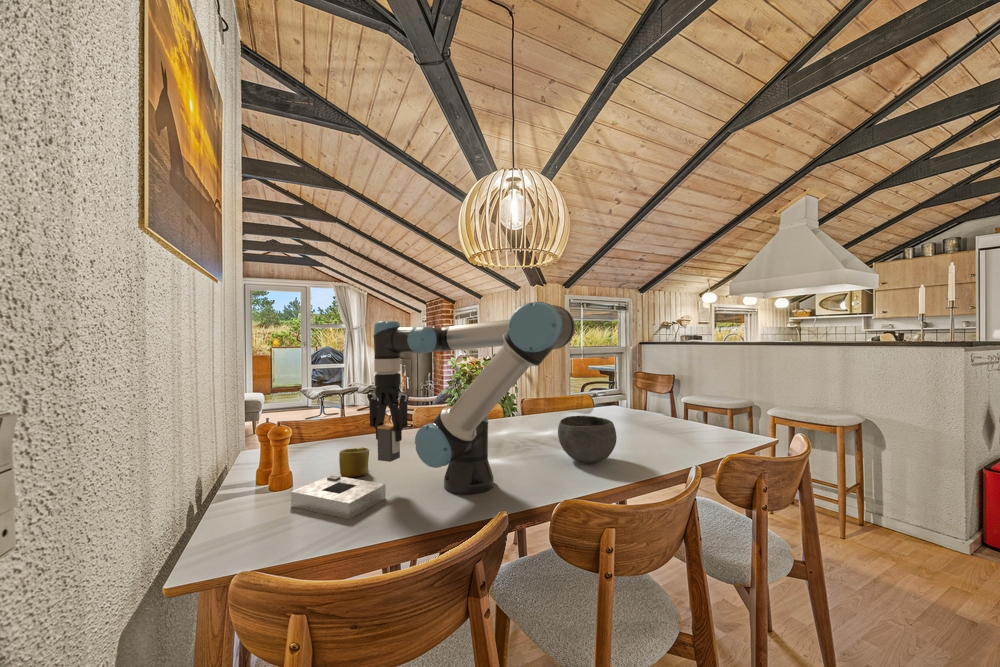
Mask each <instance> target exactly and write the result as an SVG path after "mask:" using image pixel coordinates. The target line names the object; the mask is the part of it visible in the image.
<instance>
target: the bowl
mask: <svg viewBox="0 0 1000 667" xmlns="http://www.w3.org/2000/svg"><path fill="white" fill-rule="evenodd" d="M557 438H558V442H559V444H560V446H561V448H562V450H563V451H564V452H565V453H566V455H568V456H569V458H572V460H574V461H575V462H576V463H580V464H583V465H597V464H600V463H601V462H604V461H605V460H607V459H608V458H609V456H611V454H612V452H613V451H614V449H615V447H616V445H617V430H616V428H615V424H614V423H613V421H612V420H610V419H607V418H603V417H598V416H592V415H591V416H590V415H571V416H567V417H563V418H562V419H560V421H559V423H558V426H557Z"/></svg>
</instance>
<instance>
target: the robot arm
mask: <svg viewBox="0 0 1000 667" xmlns="http://www.w3.org/2000/svg"><path fill="white" fill-rule="evenodd" d="M575 330H576V324H575V321H574V318H573V316H572V314H571V313H570V312H569V311H568V310H567V309H565V307H562V306H559V305H555V304H550V303H548V302H543V301H532V302H528V303H525V304H522V305H521V306H519V307H518V308H517V309H516V310H514V312H513V313H512V314H511V317H510V318H509V319H501V320H493V321H486V322H477V323H476V322H475V323H469V324H467V323H466V324H459V325H452V326H443V327H430V326H424V325H423V326H420V325H419V326H407V327H401V324H400V322H399V321H397V320H396V321H395V320H385V321H383V320H382V321H381V320H380V321H376V322H375V323H374V325H373V350H374V354H373V355H374V358H373V361H374V362H373V364H374V366H373V367H374V370H373V371H374V373H375V374H374V387H375V391H374V392H372V393H368V394H367V399H368V401H369V402H368V404H369V410H368V411H369V426H370V427H371V428H372V427H373V428H374V429H375V440H377V441H378V434H377V426H380V425H383V424H385V419H386V413H387V412H386V411H387V407H388V409H389V411H390V415H391V420H392V424H393V426H394V429H393V431H392V453H397V452H399V451H400V452H401V441H402V438H403V437H402V435H403V434H402V431H403V429H406V428H408V401H409V398H410V395H409V394H408V393H407V394H406V393H405V394H404V393H403V392H402V390H401V388H400V387H401V384H402V381H401V379H402V375H401V373H399V372H400V371H401V354H426V353H427V354H428V353H432V352H435V353H436V352H437V353H438V352H441V353H443V352H450V351H459V350H470V349H471V350H472V349H473V350H474V349H484V348H486V349H487V348H494V347H495V348H496V347H499V349H498V351H496V353H495V354H494V356H493V357H492V358H491V359H490V360H489V361H488V363H487V364H486V365H485V366H484V367H483V369H482V370H481V371H480V372H479V374H478V375H477V376H476V377H475V378H474V380H473V381H472V382H471V383H470V384H469V386H467V388H466V389H465V390H464V392H463V393H462V394H461V395H460V396H459V397H458V399H457V400H456V401H455V403H454V404H453V405H452V406H447V407H444V408H443V409H441V411H440V412H439V413H438V414H437V416H436V417H434V419H433V420H432V421H431V422H430V423H426V424H424V425H423V426H421V427H420V428H418V430H417V431H416V434H415V438H414V445H415V451H416V453H417V454H416V455H418V457H419V459H420V461H421V462H423V463H424V464H425V465H426V466H427V467H430V468H433V469H438V468H439V469H440V468H442V467H445V466H447V468H446V471H445V474H444V478H443V487H444V489H445V490H446V491H448V492H451V493H453V494H460V495H474V494H480V493H485V492H487V491H489V490H491V489H492V488H493V487H494V474H493V471H492V468H491V465H490V461H489V455H488V454H489V421H488V417H489V416H488V415H489V414H490V413H491V412H492V410H493V409H494V408H495V407H496V406H497V404H499V402H501V400H502V399H503V397H504V396H506V394H507V393H508V392H509V391H510V389H511V388H512V387H513V386H514V385H515V384H516V383H517V381H518V380H519V379H520V378H521V377H522V376H523V375H524V374H525V373H526V371H527V370H528V369H529V368H530V367H538V366H539V365H540V364H541V363H542V362H543V361H544V360H545V359H546V358H547V357H548V355H550V353H552V351H553V350H559V349H561V348H564V347H566V345H568V344H569V343H570V342H571V341H572V339H573V337H574V334H575Z"/></svg>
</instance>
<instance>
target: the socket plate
mask: <svg viewBox="0 0 1000 667" xmlns="http://www.w3.org/2000/svg"><path fill="white" fill-rule="evenodd" d="M386 485H387V484H386V483H381V482H380V483H379V482H374V481H369V480H362V479H356V478H352V477H342V476H340V475H334V474H330V475H328V476H325V477H323V478H320V479H318V480H316V481H313V482H311V483H308V484H306V485H303V486H301V487H299V488H297V489H294V490H291V491H290V507H291V508H294V509H295V508H296V509H299V510H300V509H302V510H306V511H310V512H314V513H319V514H323V515H328V516H332V517H335V518H336V517H338V518H341V519H346V520H351V519H352V518H354V517H356V516H358V515H359V514H361V513H363V512H364V511H366V510H368V509H370V508H372V507H373V506H375V505H377V504H379V503H380V502H382V501H384V500H386V499H387V498H386V495H387V493H386V487H387V486H386Z"/></svg>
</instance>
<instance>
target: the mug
mask: <svg viewBox="0 0 1000 667" xmlns="http://www.w3.org/2000/svg"><path fill="white" fill-rule="evenodd" d="M369 457H370V449H369V448H368V447H363V446H361V447H358V448H357V447H354V448H345V449H342V450H340V451H339V456H338V458H339V460H338V462H339V472H340V475H341V476H340V477H346V478H352V477H362V476H365V475H367V474H368V472H369V459H370V458H369Z"/></svg>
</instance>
